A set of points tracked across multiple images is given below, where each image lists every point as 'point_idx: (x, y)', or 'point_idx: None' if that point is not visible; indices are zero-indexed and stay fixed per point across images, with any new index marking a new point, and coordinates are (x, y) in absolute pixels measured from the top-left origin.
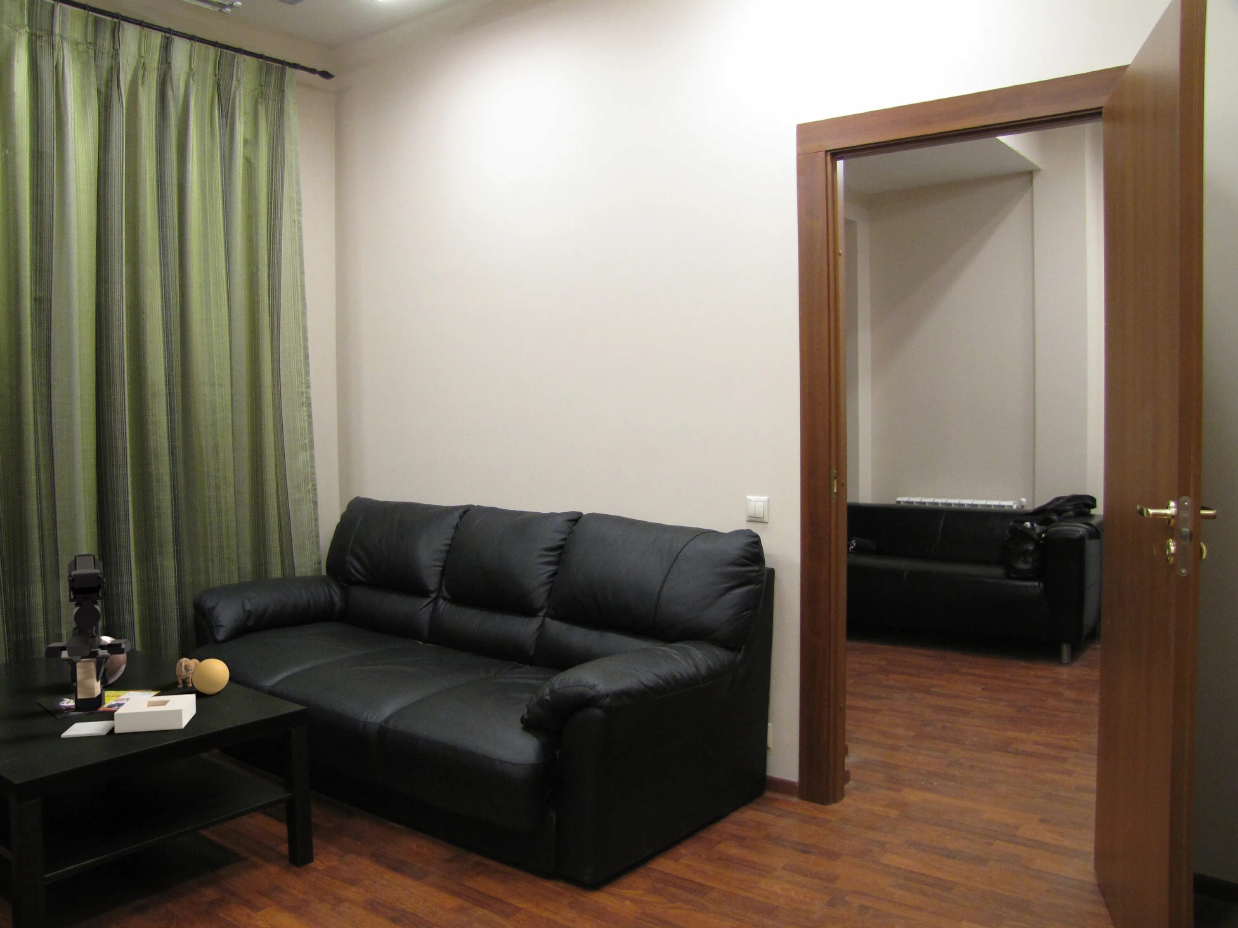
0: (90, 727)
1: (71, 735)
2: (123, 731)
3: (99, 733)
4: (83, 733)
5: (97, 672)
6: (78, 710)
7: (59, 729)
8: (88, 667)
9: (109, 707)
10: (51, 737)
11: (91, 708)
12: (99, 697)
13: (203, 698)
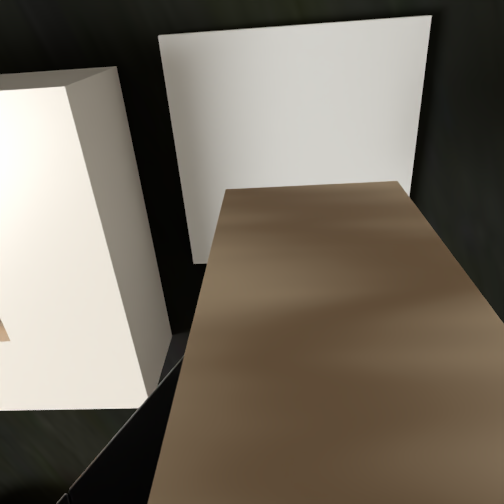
0: (293, 162)
1: (364, 20)
2: (65, 70)
3: (191, 33)
4: (292, 34)
5: (158, 440)
6: None
7: (470, 193)
8: None
9: None
10: (490, 31)
11: None
12: None
13: (3, 483)
